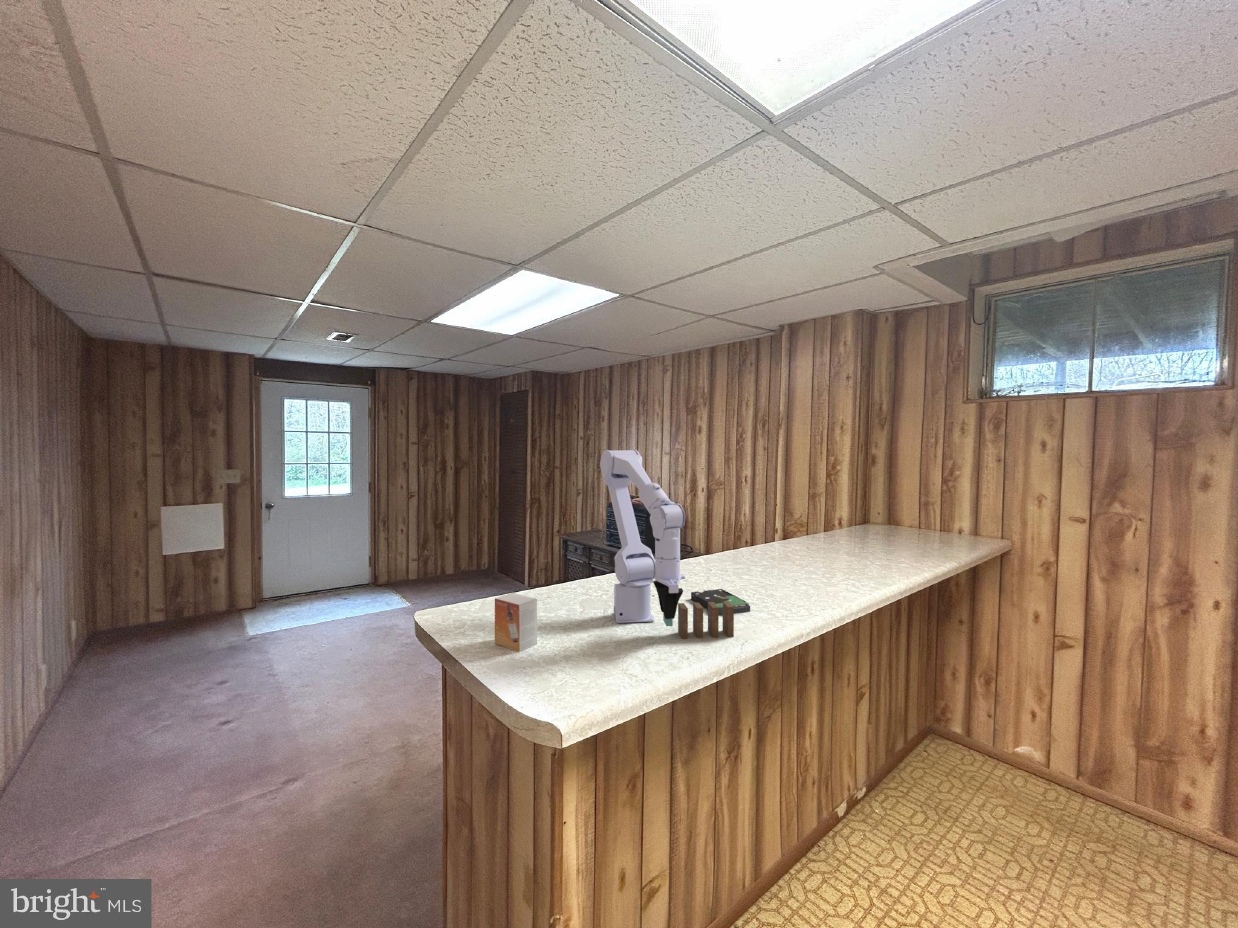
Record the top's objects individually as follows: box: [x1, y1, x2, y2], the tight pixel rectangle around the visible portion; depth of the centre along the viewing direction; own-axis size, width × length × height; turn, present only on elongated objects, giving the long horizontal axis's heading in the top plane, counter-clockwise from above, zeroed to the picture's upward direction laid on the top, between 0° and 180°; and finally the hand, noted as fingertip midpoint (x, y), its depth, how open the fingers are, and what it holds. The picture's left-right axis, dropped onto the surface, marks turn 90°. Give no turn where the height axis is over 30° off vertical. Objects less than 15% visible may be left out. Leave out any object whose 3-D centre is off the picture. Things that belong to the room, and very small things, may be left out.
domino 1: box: [677, 602, 689, 640], centre depth 116 cm, size 1×4×7 cm, turn 5°
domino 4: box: [722, 602, 735, 638], centre depth 117 cm, size 1×4×7 cm, turn 5°
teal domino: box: [662, 612, 674, 627], centre depth 115 cm, size 1×4×7 cm, turn 5°
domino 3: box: [707, 602, 720, 639], centre depth 116 cm, size 1×4×7 cm, turn 5°
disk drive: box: [690, 588, 751, 617], centre depth 137 cm, size 10×3×15 cm
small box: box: [494, 592, 538, 653], centre depth 111 cm, size 8×6×10 cm
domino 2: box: [692, 602, 704, 639], centre depth 116 cm, size 1×4×7 cm, turn 5°
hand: (667, 614), depth 115 cm, fingers closed on teal domino, 4 cm apart
